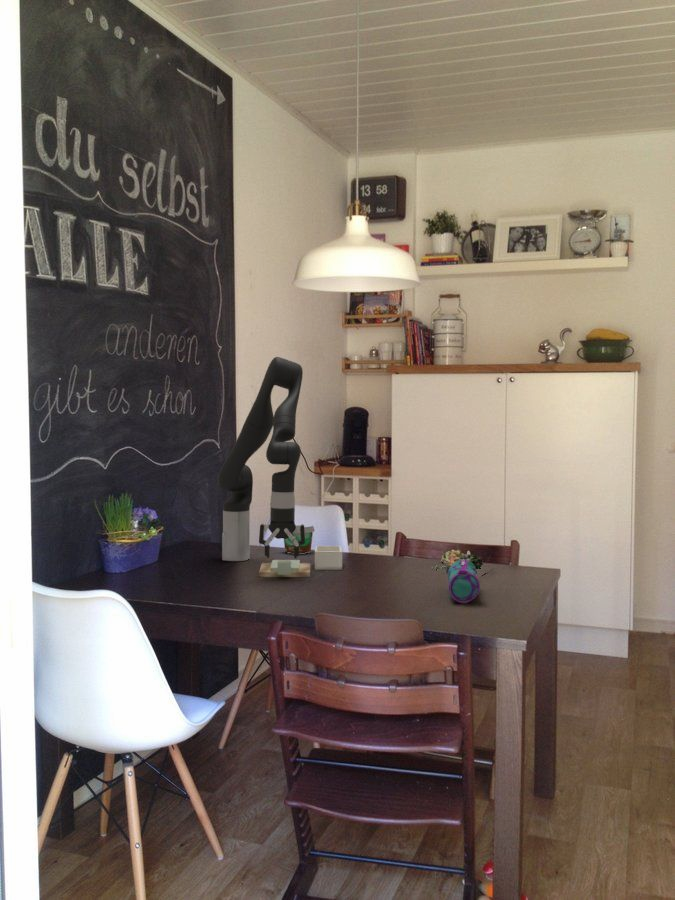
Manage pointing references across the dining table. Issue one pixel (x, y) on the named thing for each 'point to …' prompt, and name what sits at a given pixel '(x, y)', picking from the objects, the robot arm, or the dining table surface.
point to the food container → (302, 548)
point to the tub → (328, 558)
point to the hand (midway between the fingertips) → (281, 557)
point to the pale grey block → (285, 566)
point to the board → (303, 572)
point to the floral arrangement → (459, 558)
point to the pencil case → (463, 581)
